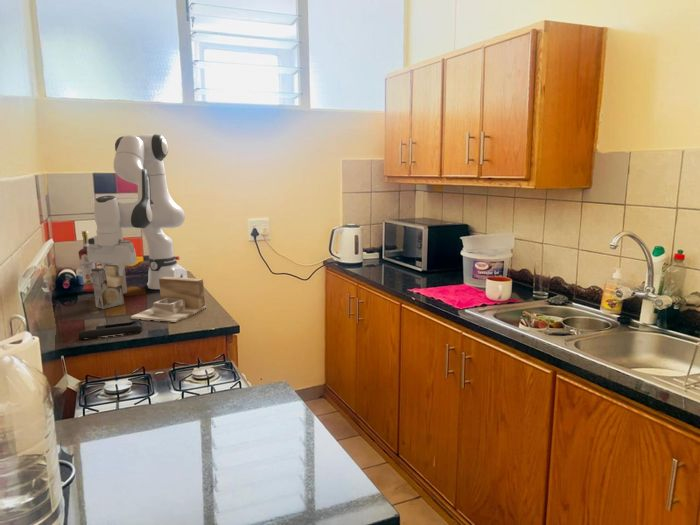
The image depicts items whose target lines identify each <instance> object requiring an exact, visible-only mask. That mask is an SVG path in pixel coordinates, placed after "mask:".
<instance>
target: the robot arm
mask: <svg viewBox="0 0 700 525" xmlns="http://www.w3.org/2000/svg"><path fill="white" fill-rule="evenodd" d="M114 151H115V155H114V159H113V170H114V173H115V174H116V175H117V176H118V177H119V178H120V179H122V180H124V181H125V182H128V183H131V184H135V185H136V186H137V201H134V202H119V201H118V199H117V197H116V196H114V195H103V196H102V195H101V196H98V197H97V198H95V199H94V204H93V205H94V206H93V212H94V213H93V214H94V221H95V224H96V235H94V236H92V237H89V239H87V240H86V241H87V244H88V247H87V254H88V260H89V261H90V262H91V263H97V264H101V267H103V269H104V270H105V266H107V265H109V264H118V267H119V270H118V271H116V272H117V276H122V275H123V269H124V267H126V266H133V265H135V264H136V263H137V261H138V258H137V254H136V249H135V247H134V243H133V242H132V241H131V240H130V239H129V240H128V239H124V237H123V229H122V228H124V229H125V228H135V229H139V230H140V231H141V232H142V233H143V236H144V237H145V240H146V245H147V251H148V259H147V260H148V261H147V262H148V266H149V268H148V273H147V274H148V275H147V277H148V278H147V279H148V281H147V283H146V286H147V288H148V289H150V290H160V284H159V279H160V278H163V277H178V278H188V273H187V272H188V271H187V270H186V269H185V268H184V267H183V266H181V265H180V264H179V263H178V261H179V260H180V258H181V257H180V255H174V244H173V243H174V242H173V239H172V238H171V237H170V236H168V235H167V234H165V232H164V231H163V229H175V228H180V227H181V226H182V225H183V223H184V222H185V218H186V214H185V211H184V209H183V208H182V207H181V206H180V205H178V204H177V203H176V202H175V201H174V199H173V198H172V196H171V194H170V190H169V188H168V182H167V181H168V180H167V175H166V168H165V164H164V159H165V158H166V157H167V155H168V154H169V153H168V152H169V145H168V141H167V139H166V138H165V137H164V136H163V135H161V134H156V133H155V134H147V133H146V134H145V133H144V134H142V133H141V134H134V135H133V134H132V135H131V134H130V135H129V134H128V135H123V136H120V137H118V138H117V139H116V140H115V144H114ZM152 203H153V204H152ZM105 274H106V270H105Z"/></svg>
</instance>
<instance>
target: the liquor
mask: <svg viewBox="0 0 700 525" xmlns="http://www.w3.org/2000/svg"><path fill="white" fill-rule="evenodd" d="M81 235H82V246H83V248H81V249H80V250H78V257H79V264H80V265H79V266H80V270H81V275H82V281H83V282H82V283H83V289H82V290H83V291H85V292H86V293H94V292H93V291H94V286H93V279H92V270H91V269H96V268H98V263H91V262H90V261H89V260H88V254H87V247H88V244H87V241H86V240H87V239H89V238H90V237H89V236H90V234H89V230H82V231H81Z"/></svg>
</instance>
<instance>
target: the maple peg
mask: <svg viewBox="0 0 700 525" xmlns="http://www.w3.org/2000/svg"><path fill="white" fill-rule="evenodd" d="M105 270H106V278H107V286H108V287H118V286H121V285H123V276H117V272H116V271H118V270H119V267H118V264H111V265H107V266H105Z"/></svg>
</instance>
